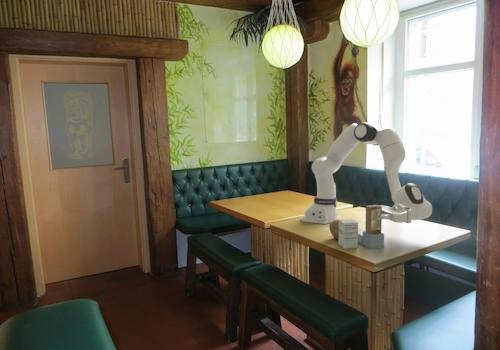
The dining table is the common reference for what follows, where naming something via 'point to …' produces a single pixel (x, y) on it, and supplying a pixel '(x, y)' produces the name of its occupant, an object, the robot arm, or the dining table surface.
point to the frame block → (373, 219)
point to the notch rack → (371, 239)
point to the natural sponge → (334, 228)
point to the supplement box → (348, 233)
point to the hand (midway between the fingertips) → (374, 214)
